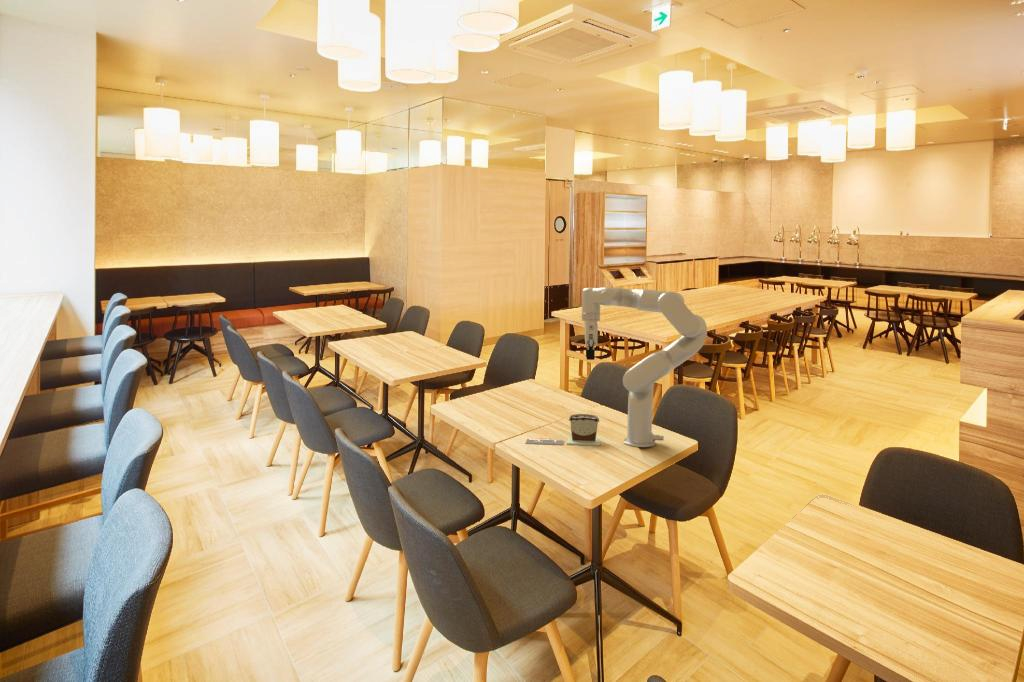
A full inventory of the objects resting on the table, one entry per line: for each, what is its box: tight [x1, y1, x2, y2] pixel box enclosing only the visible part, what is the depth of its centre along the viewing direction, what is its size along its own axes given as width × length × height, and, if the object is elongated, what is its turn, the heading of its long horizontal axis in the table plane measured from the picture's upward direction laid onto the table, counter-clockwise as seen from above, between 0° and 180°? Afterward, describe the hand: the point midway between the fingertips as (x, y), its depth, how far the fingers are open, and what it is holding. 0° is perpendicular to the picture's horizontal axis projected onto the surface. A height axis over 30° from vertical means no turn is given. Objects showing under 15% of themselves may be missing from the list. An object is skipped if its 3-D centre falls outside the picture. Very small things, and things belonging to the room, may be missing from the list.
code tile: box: [525, 438, 564, 446], centre depth 225 cm, size 15×11×1 cm
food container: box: [568, 413, 600, 442], centre depth 226 cm, size 12×6×10 cm, turn 83°
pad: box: [566, 437, 601, 447], centre depth 225 cm, size 13×11×1 cm
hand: (590, 358), depth 231 cm, fingers open, 9 cm apart
